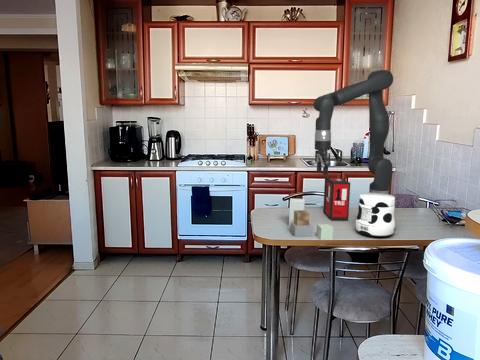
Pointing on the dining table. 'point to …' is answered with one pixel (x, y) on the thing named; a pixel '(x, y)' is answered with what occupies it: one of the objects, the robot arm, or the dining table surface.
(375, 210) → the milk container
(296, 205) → the supplement box
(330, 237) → the sage green block
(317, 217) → the dining table surface
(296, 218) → the tan wooden cube
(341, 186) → the cleaning product box
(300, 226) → the grey base block
